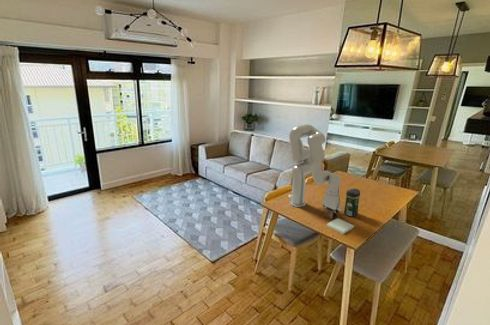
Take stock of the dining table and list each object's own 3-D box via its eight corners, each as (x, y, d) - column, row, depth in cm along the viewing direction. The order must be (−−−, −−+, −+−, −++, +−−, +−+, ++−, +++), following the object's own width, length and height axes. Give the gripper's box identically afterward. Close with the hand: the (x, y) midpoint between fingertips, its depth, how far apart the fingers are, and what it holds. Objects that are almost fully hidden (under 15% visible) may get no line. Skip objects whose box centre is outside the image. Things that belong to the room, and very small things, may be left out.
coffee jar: (348, 209, 187) (351, 186, 181) (359, 213, 182) (362, 189, 176) (341, 214, 181) (344, 190, 175) (352, 218, 175) (356, 193, 170)
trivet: (326, 226, 166) (326, 223, 166) (337, 220, 173) (337, 217, 173) (343, 234, 157) (343, 232, 157) (353, 227, 164) (353, 225, 164)
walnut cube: (324, 215, 179) (324, 208, 177) (329, 213, 182) (329, 205, 180) (331, 219, 174) (332, 211, 172) (336, 216, 178) (337, 208, 176)
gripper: (318, 189, 177) (316, 212, 182) (341, 197, 164) (338, 222, 169) (325, 186, 181) (323, 209, 187) (347, 194, 168) (344, 218, 174)
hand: (330, 215), depth 178 cm, fingers closed on walnut cube, 6 cm apart
